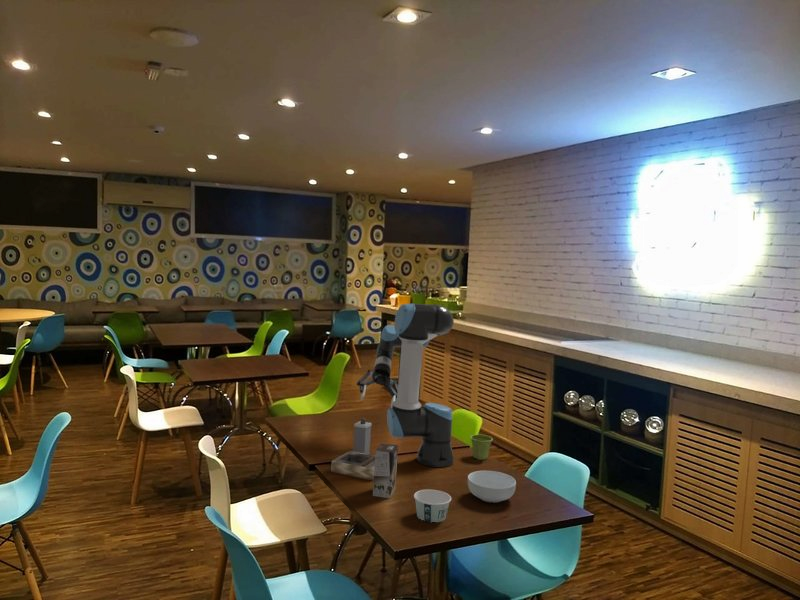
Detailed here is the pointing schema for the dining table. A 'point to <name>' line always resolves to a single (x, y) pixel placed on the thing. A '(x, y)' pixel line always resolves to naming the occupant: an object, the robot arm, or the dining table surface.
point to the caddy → (355, 465)
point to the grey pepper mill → (362, 436)
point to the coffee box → (385, 470)
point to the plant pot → (481, 446)
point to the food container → (432, 505)
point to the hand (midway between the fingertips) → (377, 403)
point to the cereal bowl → (491, 485)
